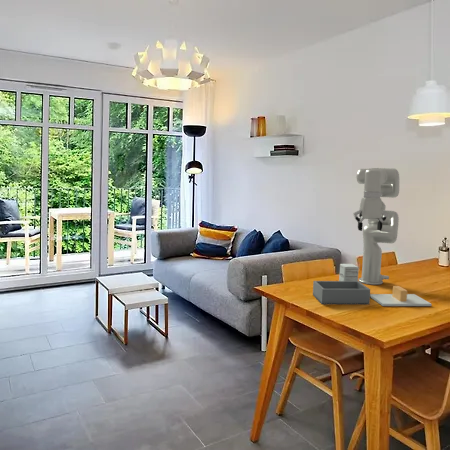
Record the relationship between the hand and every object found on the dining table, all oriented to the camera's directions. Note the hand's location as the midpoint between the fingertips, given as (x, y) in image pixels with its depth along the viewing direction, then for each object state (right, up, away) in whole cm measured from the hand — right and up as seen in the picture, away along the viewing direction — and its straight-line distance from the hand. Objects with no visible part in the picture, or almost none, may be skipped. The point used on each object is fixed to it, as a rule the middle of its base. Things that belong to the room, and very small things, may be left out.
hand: (369, 230), depth 218 cm
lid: (+10, -33, -10) cm, 36 cm away
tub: (-17, -32, -9) cm, 38 cm away
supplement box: (-8, -30, +9) cm, 33 cm away
